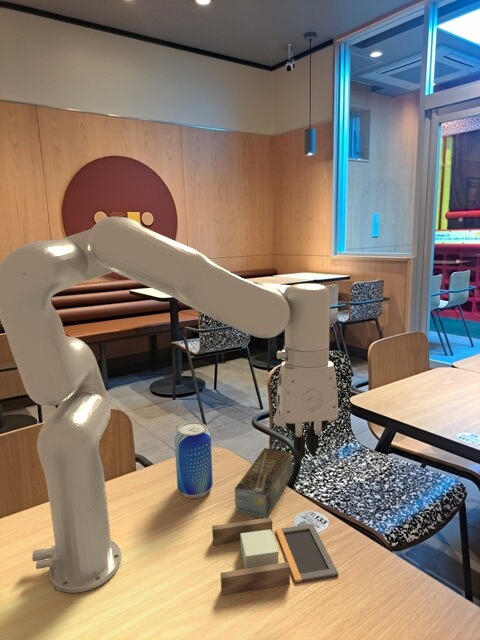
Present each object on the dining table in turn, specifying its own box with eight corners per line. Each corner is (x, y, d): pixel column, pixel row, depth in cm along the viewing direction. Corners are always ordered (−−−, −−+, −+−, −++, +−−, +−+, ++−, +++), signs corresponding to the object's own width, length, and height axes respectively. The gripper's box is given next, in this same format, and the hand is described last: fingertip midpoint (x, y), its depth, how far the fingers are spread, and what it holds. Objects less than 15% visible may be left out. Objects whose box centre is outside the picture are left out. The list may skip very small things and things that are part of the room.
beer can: (183, 504, 99) (179, 439, 96) (173, 484, 107) (169, 424, 103) (218, 494, 102) (215, 431, 99) (205, 476, 110) (203, 417, 106)
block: (246, 575, 79) (245, 556, 78) (240, 551, 85) (240, 533, 84) (278, 570, 80) (278, 551, 79) (271, 547, 86) (270, 529, 85)
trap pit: (295, 583, 77) (295, 580, 76) (275, 531, 89) (275, 529, 89) (338, 575, 78) (338, 572, 78) (312, 526, 91) (312, 523, 91)
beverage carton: (233, 511, 96) (232, 485, 95) (264, 468, 114) (263, 444, 112) (267, 520, 93) (266, 493, 92) (293, 474, 110) (293, 450, 109)
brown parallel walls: (222, 595, 74) (221, 578, 74) (212, 541, 87) (212, 525, 86) (289, 584, 76) (289, 567, 76) (270, 532, 89) (270, 517, 89)
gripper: (268, 366, 70) (269, 469, 74) (358, 358, 73) (354, 458, 77) (257, 353, 78) (259, 447, 81) (340, 346, 80) (338, 438, 84)
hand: (305, 452), depth 79 cm, fingers closed
